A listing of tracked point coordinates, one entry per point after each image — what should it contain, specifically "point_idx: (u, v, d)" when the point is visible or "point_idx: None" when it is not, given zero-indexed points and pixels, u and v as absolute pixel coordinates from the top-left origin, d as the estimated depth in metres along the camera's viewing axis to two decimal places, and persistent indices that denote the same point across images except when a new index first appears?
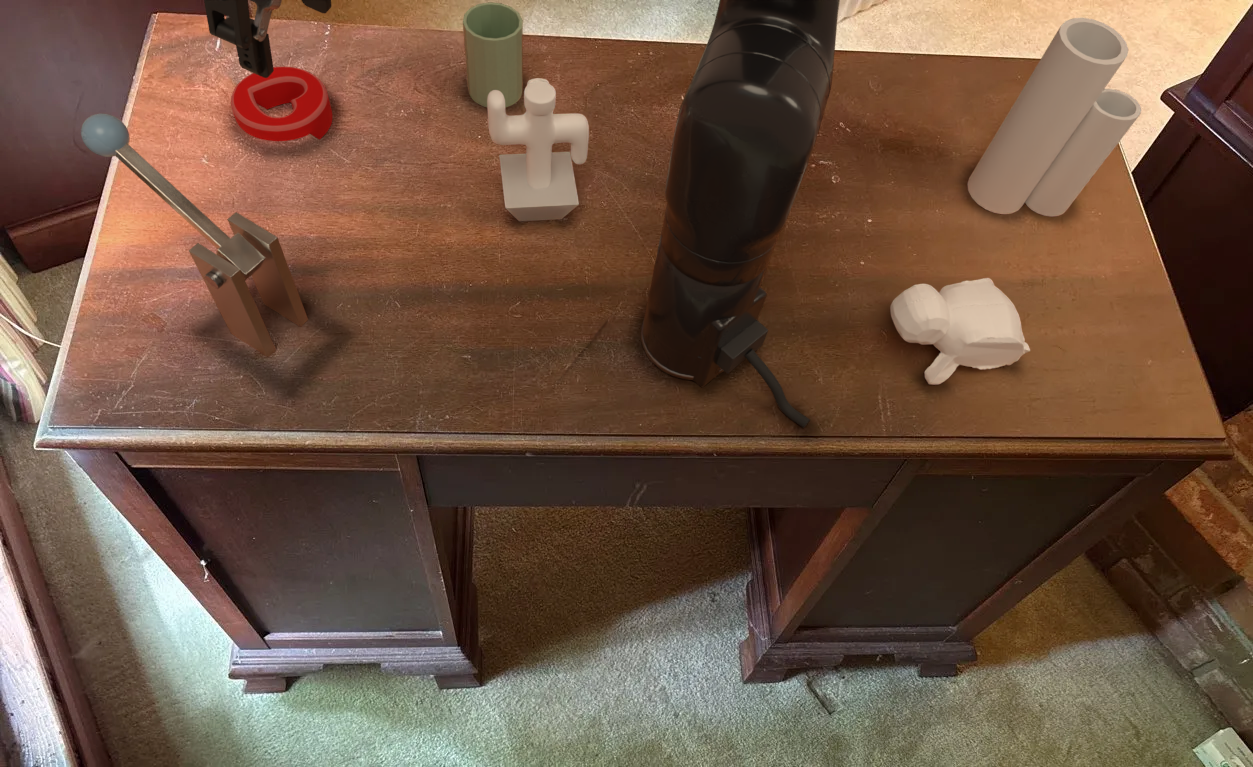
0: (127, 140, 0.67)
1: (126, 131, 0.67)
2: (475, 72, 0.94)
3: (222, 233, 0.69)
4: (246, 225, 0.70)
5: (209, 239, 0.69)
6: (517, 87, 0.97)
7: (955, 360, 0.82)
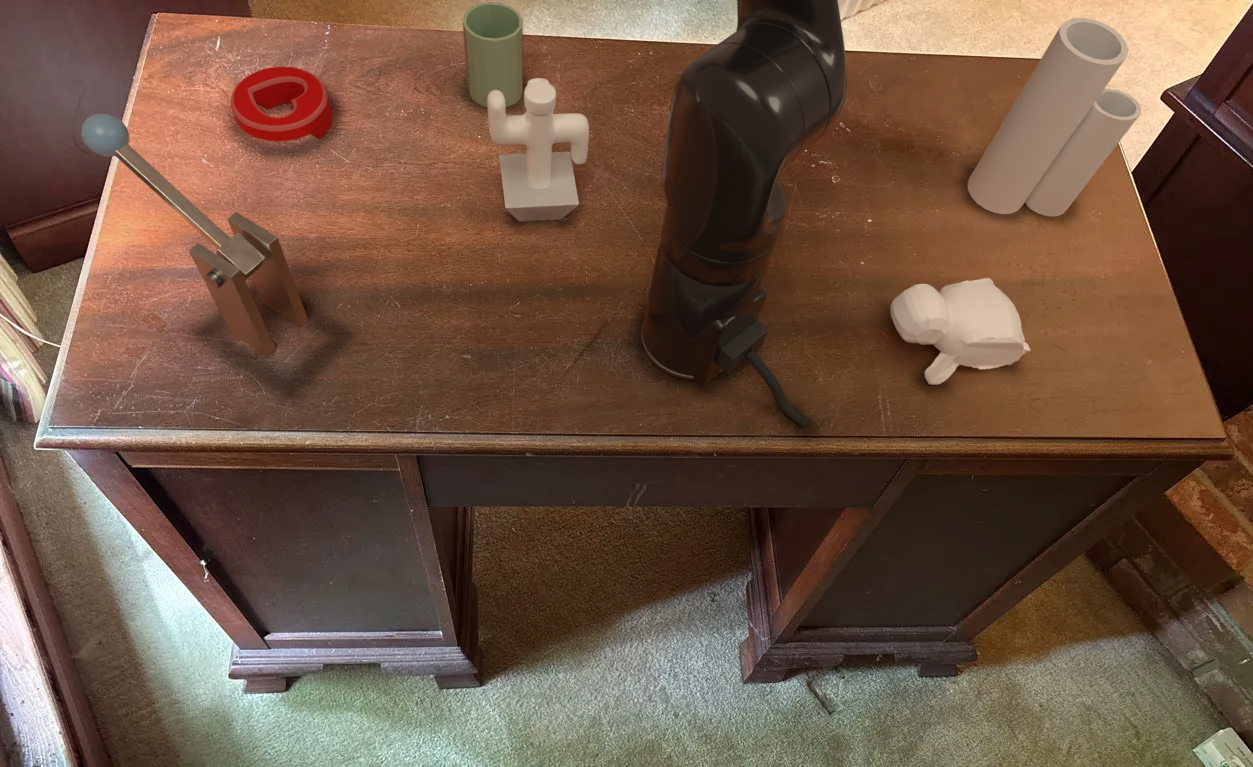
0: (127, 140, 0.67)
1: (126, 131, 0.67)
2: (475, 72, 0.94)
3: (222, 233, 0.69)
4: (246, 225, 0.70)
5: (209, 239, 0.69)
6: (517, 87, 0.97)
7: (955, 360, 0.82)
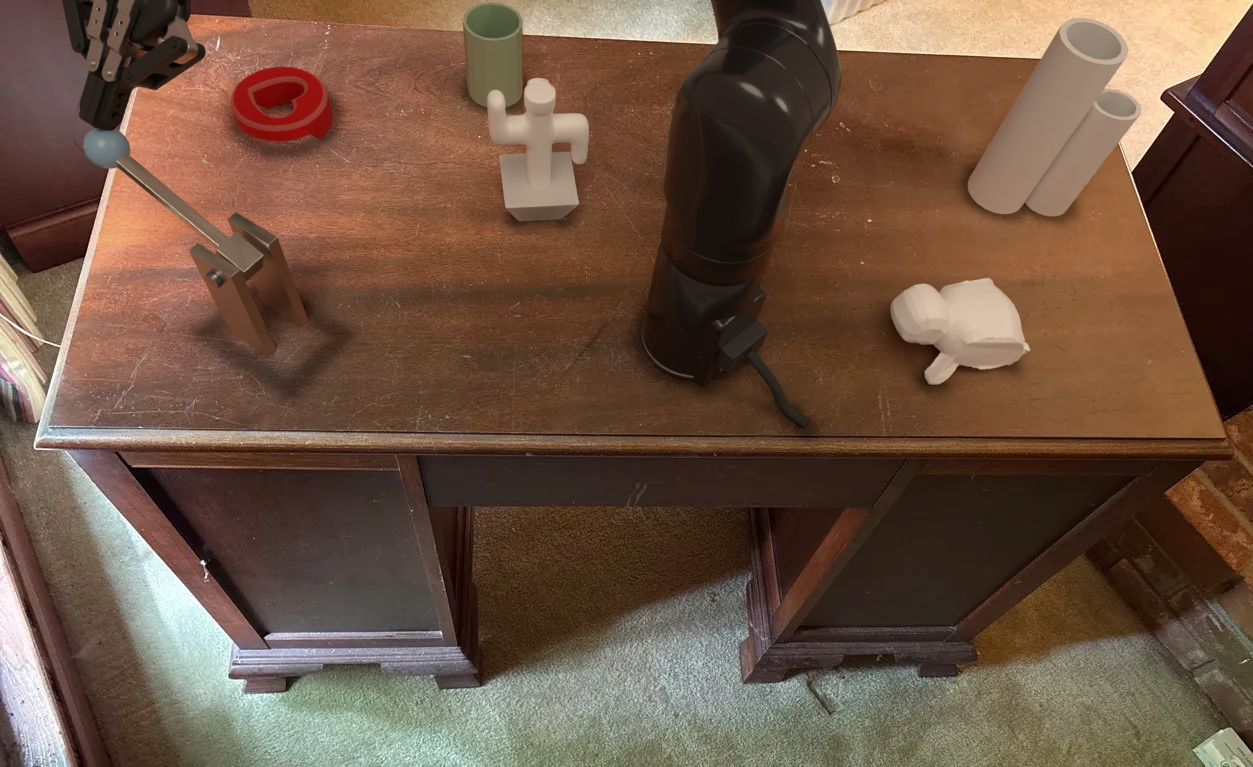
0: (127, 150, 0.69)
1: (126, 142, 0.69)
2: (475, 72, 0.94)
3: (221, 234, 0.70)
4: (246, 225, 0.70)
5: (209, 241, 0.70)
6: (517, 87, 0.97)
7: (955, 360, 0.82)
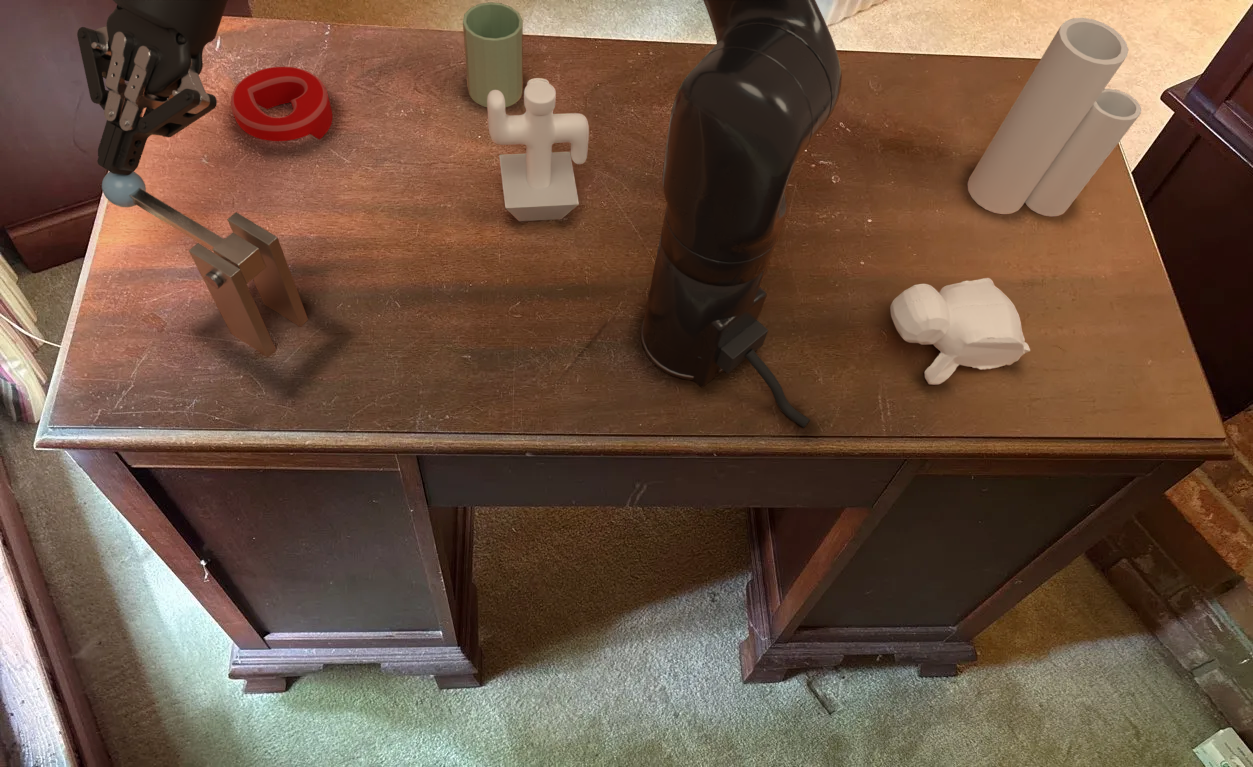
0: (140, 185, 0.73)
1: (138, 178, 0.73)
2: (475, 72, 0.94)
3: (221, 239, 0.71)
4: (246, 225, 0.70)
5: (211, 248, 0.71)
6: (517, 87, 0.97)
7: (955, 360, 0.82)
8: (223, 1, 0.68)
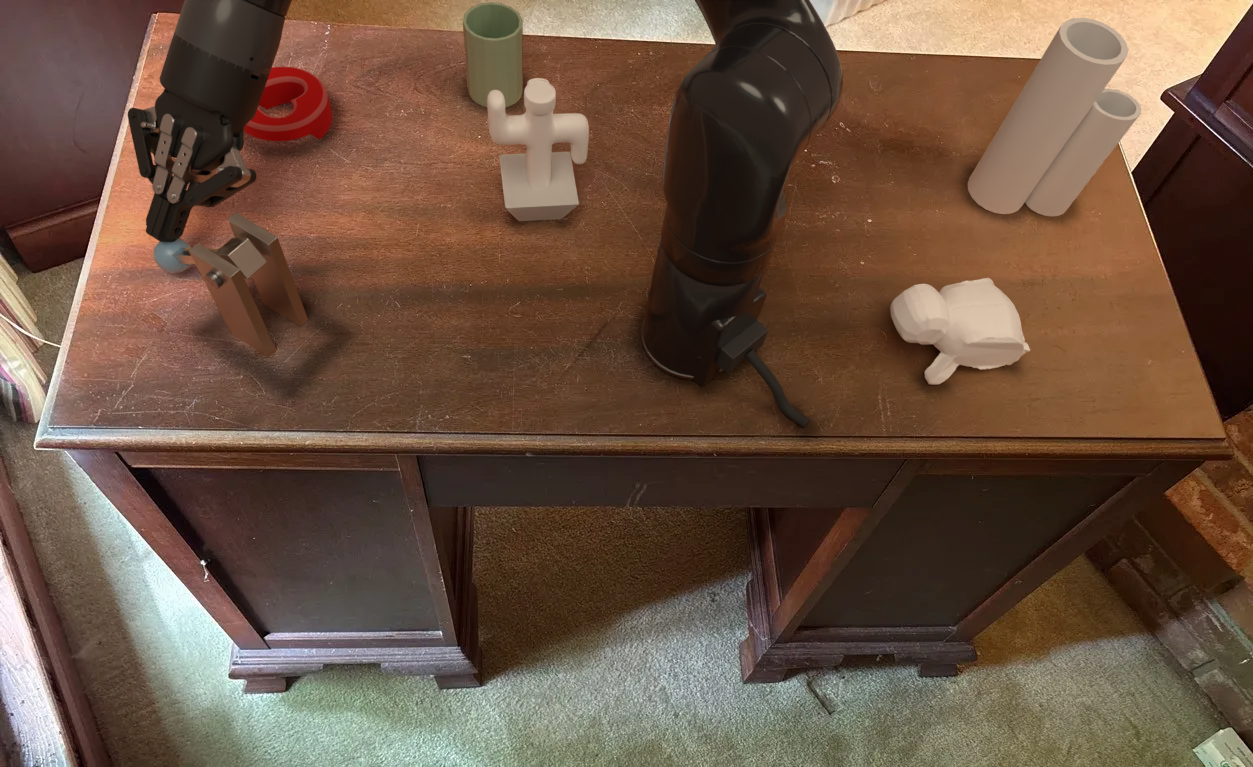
0: (182, 246, 0.78)
1: (181, 240, 0.78)
2: (475, 72, 0.94)
3: None
4: (246, 225, 0.70)
5: None
6: (517, 87, 0.97)
7: (955, 360, 0.82)
8: (263, 84, 0.74)
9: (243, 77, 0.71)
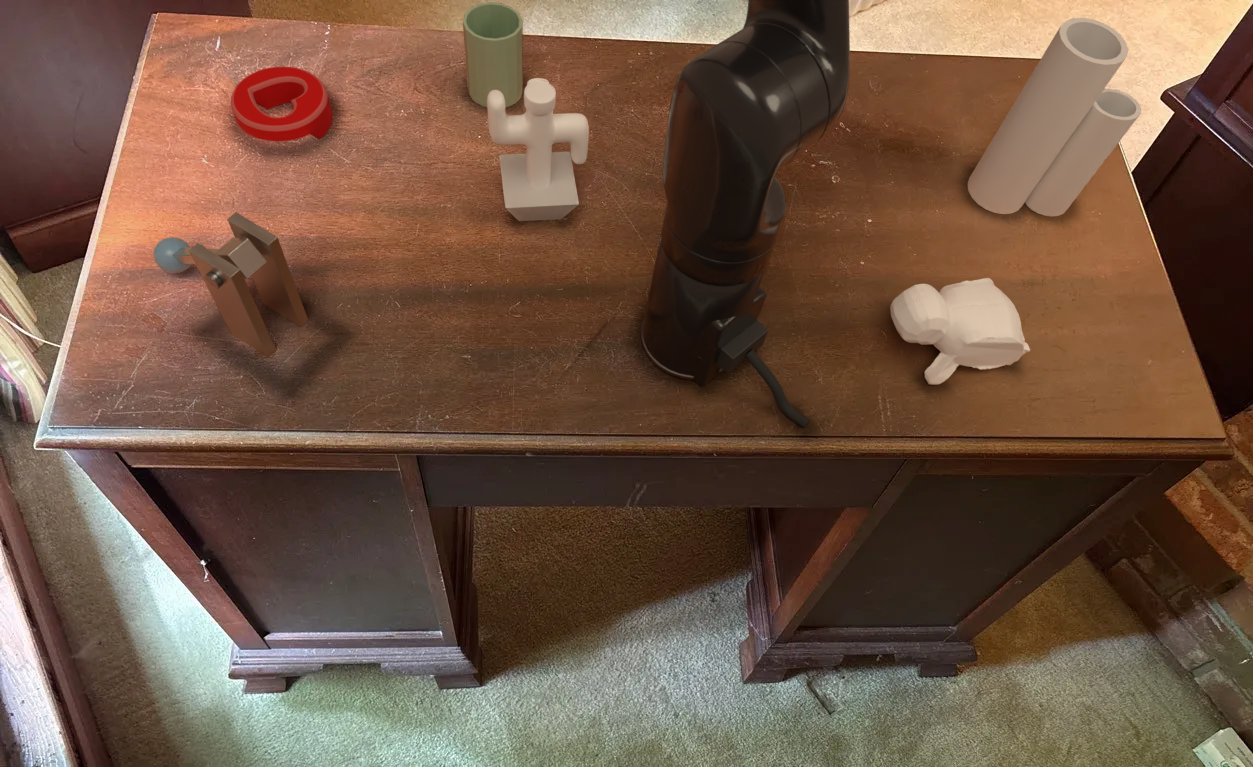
0: (182, 246, 0.78)
1: (181, 241, 0.78)
2: (475, 72, 0.94)
3: None
4: (246, 225, 0.70)
5: None
6: (517, 87, 0.97)
7: (955, 360, 0.82)
8: None
9: None
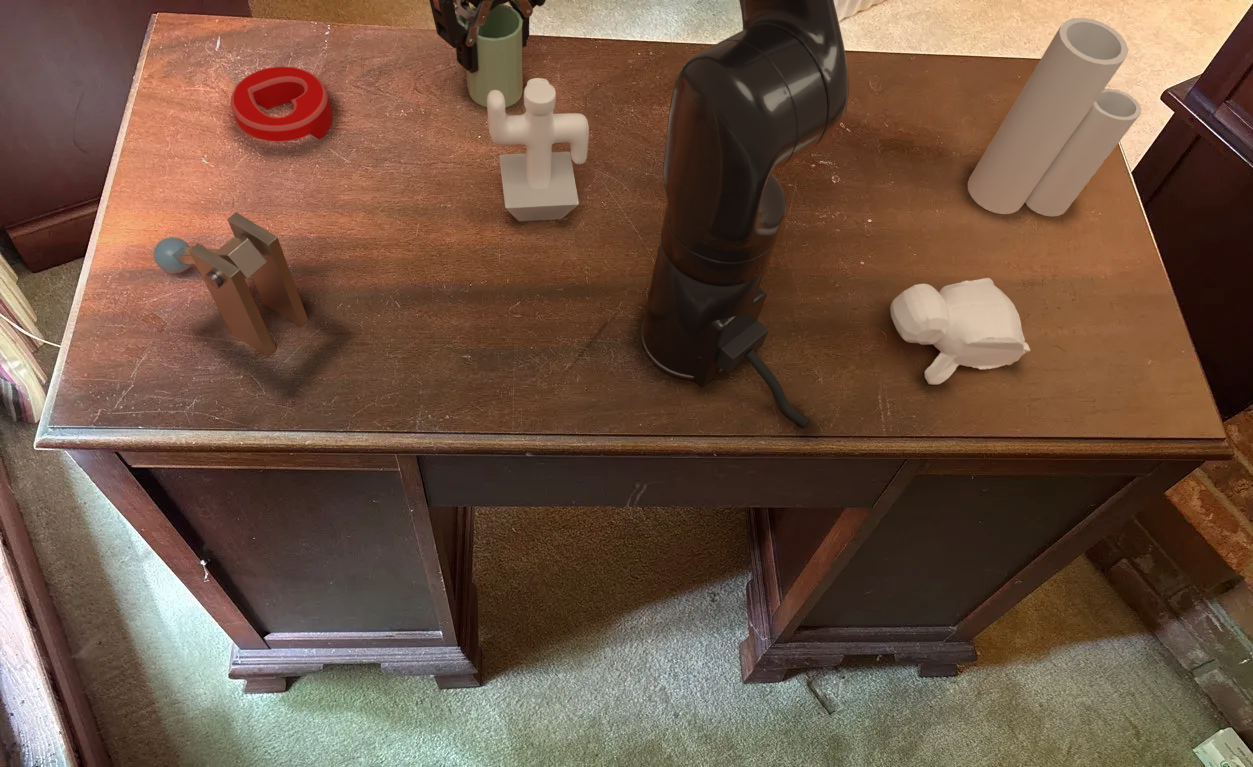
0: (182, 246, 0.78)
1: (181, 241, 0.78)
2: (475, 72, 0.94)
3: None
4: (246, 225, 0.70)
5: None
6: (517, 87, 0.97)
7: (955, 360, 0.82)
8: None
9: None
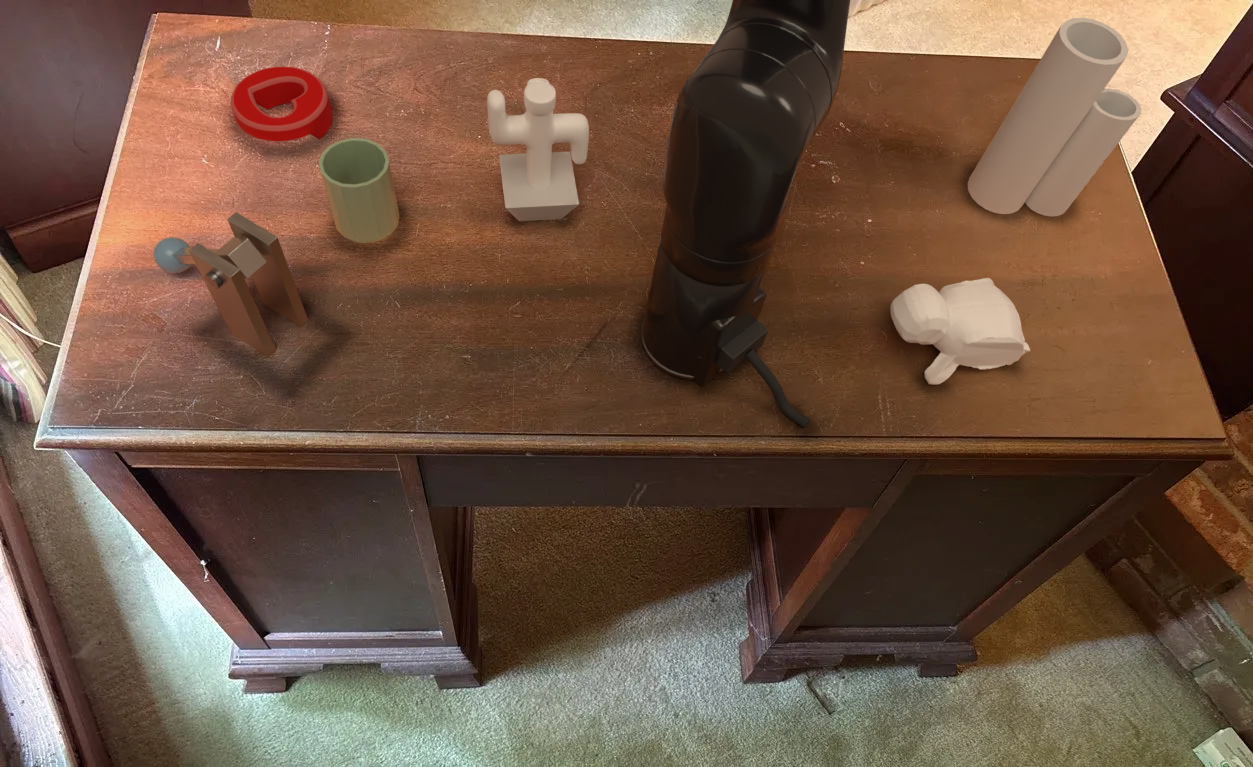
0: (182, 246, 0.78)
1: (181, 241, 0.78)
2: (338, 216, 0.82)
3: None
4: (246, 225, 0.70)
5: None
6: (390, 228, 0.85)
7: (955, 360, 0.82)
8: None
9: None
